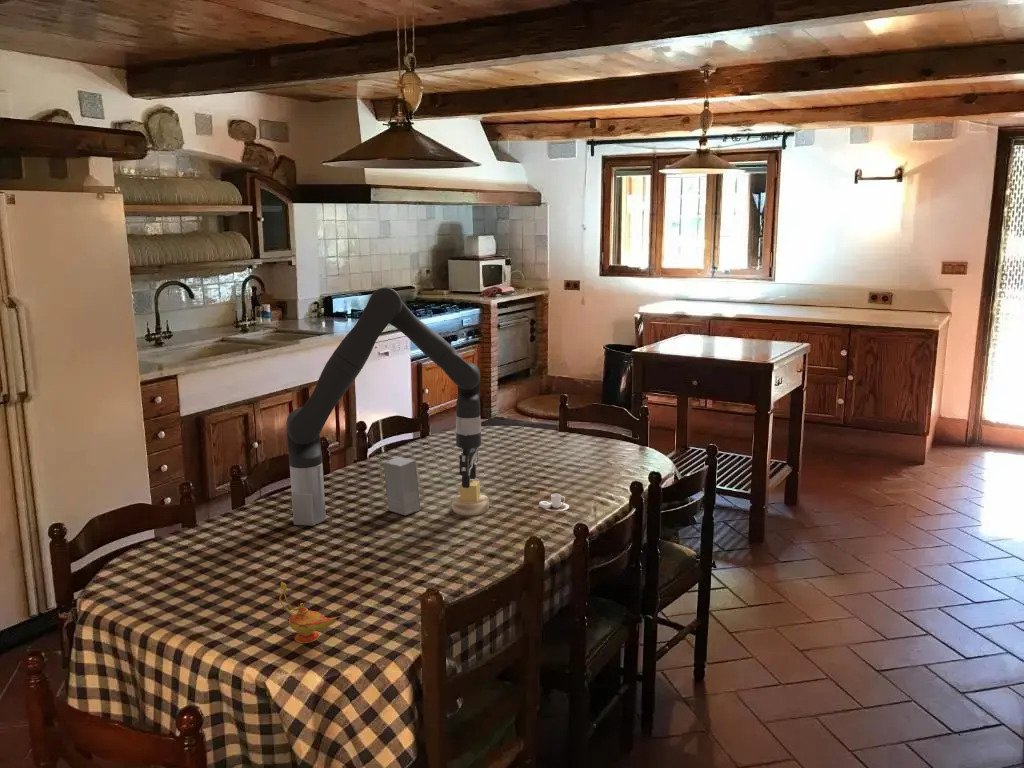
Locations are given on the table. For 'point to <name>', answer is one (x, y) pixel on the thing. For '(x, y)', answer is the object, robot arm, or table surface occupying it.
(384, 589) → the table surface
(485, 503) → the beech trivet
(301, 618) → the magic lamp
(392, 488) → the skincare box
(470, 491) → the ochre block
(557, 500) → the teacup and saucer
